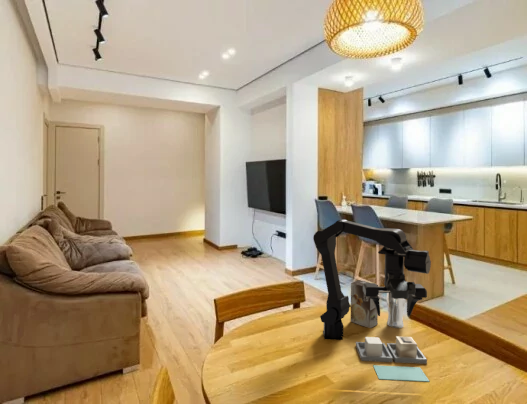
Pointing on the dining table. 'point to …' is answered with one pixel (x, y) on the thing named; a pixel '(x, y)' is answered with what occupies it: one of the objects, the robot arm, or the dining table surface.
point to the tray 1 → (363, 356)
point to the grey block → (373, 346)
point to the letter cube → (406, 347)
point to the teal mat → (400, 373)
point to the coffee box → (362, 306)
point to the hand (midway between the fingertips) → (393, 316)
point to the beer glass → (395, 311)
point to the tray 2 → (420, 357)
